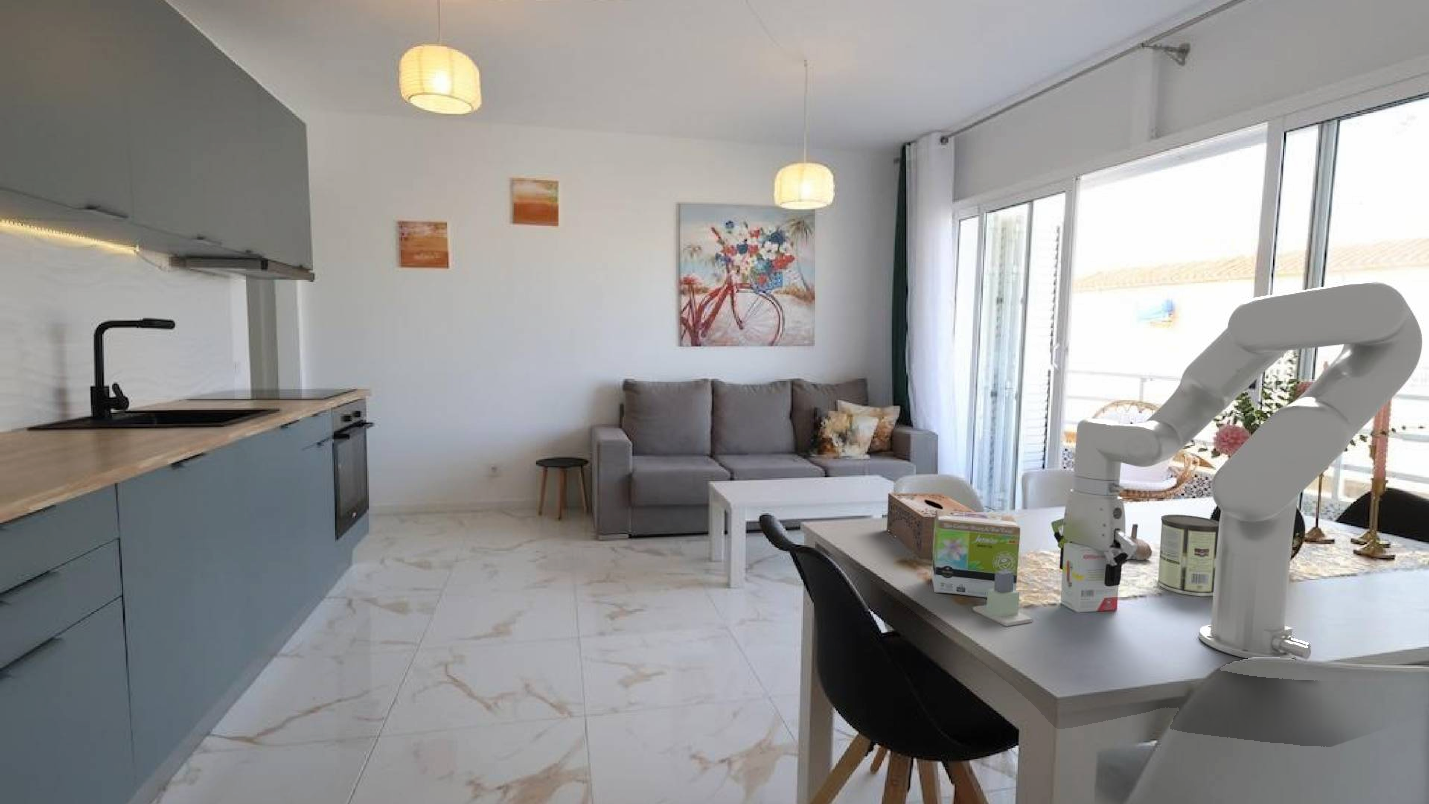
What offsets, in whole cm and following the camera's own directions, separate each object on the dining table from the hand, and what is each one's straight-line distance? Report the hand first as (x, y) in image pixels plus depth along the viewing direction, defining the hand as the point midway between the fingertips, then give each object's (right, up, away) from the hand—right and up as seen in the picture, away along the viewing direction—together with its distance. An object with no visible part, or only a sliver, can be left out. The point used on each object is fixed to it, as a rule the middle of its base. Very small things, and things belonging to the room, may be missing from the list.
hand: (1088, 576), depth 133 cm
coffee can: (+26, -6, +12) cm, 30 cm away
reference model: (-18, -6, -5) cm, 20 cm away
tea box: (-19, -5, +9) cm, 21 cm away
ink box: (0, -6, 0) cm, 6 cm away
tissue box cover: (-16, -3, +42) cm, 45 cm away
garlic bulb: (+28, -4, +34) cm, 44 cm away
